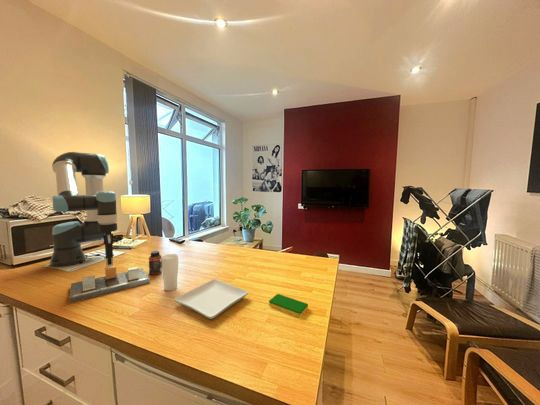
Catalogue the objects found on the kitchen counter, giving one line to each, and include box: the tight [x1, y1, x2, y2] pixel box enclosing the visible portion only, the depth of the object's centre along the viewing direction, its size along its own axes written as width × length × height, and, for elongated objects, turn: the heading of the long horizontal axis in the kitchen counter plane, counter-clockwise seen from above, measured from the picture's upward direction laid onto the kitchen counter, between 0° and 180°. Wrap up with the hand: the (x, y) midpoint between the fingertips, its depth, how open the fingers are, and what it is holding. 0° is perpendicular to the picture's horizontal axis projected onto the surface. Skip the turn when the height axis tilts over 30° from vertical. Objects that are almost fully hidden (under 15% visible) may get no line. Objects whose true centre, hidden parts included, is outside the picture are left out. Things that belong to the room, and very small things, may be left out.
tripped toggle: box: [104, 265, 117, 279], centre depth 101 cm, size 2×4×5 cm, turn 131°
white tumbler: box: [161, 253, 179, 292], centre depth 96 cm, size 7×7×15 cm
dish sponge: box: [268, 293, 309, 318], centre depth 84 cm, size 7×14×2 cm, turn 57°
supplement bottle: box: [148, 250, 163, 276], centre depth 113 cm, size 6×6×11 cm
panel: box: [68, 266, 151, 304], centre depth 99 cm, size 16×28×7 cm, turn 131°
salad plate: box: [174, 278, 249, 320], centre depth 87 cm, size 21×21×3 cm
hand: (109, 270), depth 106 cm, fingers closed
